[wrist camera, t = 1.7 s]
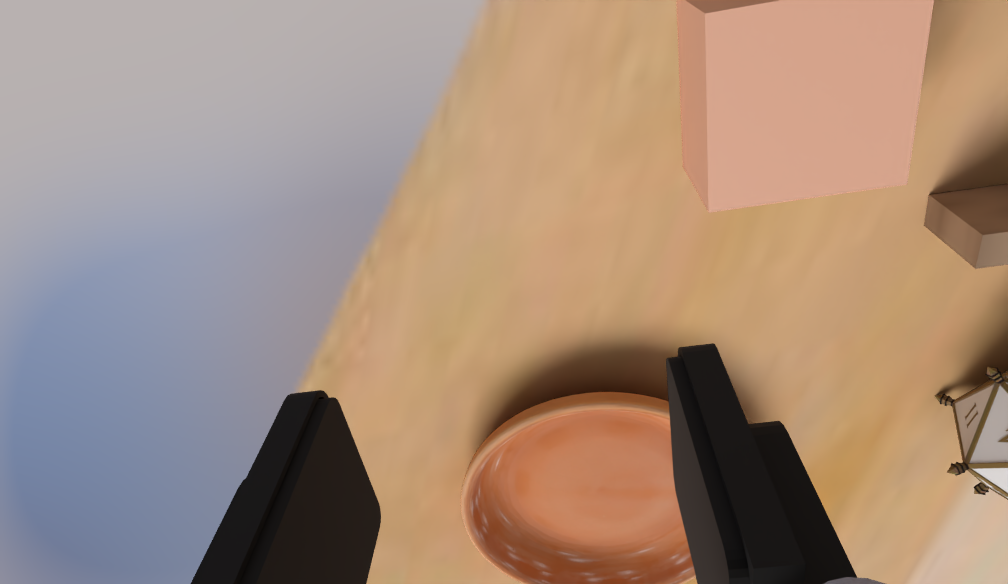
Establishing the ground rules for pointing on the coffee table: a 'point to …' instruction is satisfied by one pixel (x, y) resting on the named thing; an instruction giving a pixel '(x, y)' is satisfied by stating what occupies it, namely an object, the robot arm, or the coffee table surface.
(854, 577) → the robot arm
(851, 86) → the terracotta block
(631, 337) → the coffee table surface
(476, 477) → the saucer
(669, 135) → the coffee table surface
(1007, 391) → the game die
